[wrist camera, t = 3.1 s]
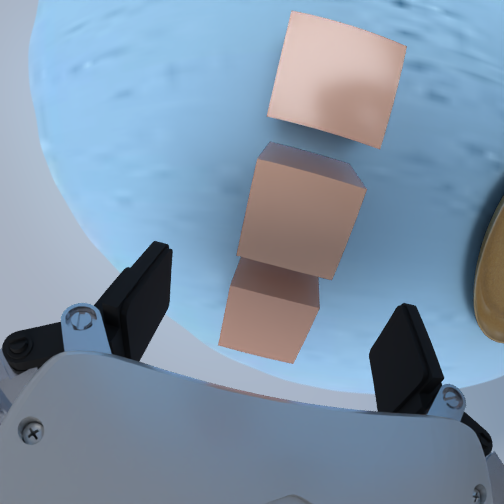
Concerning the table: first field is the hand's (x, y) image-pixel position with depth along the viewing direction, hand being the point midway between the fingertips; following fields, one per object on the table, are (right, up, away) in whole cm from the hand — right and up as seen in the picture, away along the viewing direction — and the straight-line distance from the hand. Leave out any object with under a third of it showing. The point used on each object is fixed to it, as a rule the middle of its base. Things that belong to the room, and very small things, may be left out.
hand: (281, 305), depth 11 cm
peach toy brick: (+5, +15, +8) cm, 17 cm away
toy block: (+3, +7, +12) cm, 15 cm away
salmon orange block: (+1, 0, +17) cm, 17 cm away
